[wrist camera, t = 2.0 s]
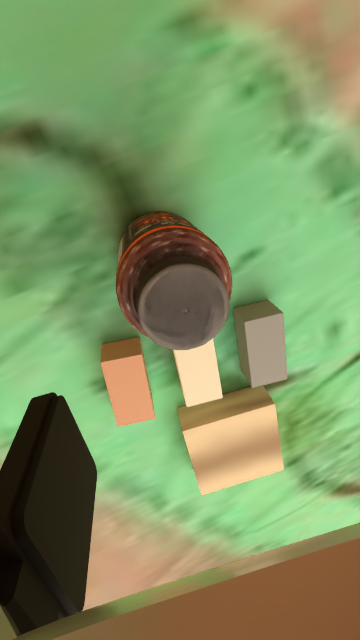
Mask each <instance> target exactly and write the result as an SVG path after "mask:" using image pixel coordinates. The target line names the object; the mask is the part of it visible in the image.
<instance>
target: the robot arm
mask: <svg viewBox="0 0 360 640" xmlns="http://www.w3.org/2000/svg"><path fill="white" fill-rule="evenodd" d="M96 481H97V470H96V465H95V462H94V460H93V458H92V456H91V454H90V452H89V449H88V447H87V445H86V443H85V441H84V439H83V437H82V434H81V432H80V430H79V428H78V426H77V424H76V422H75V419H74V417H73V415H72V413H71V411H70V409H69V406H68V404H67V402H66V400H65V398H64V397H63V396H62V395H60V396H57V395H56V394H55V393H53V392H52V393H49V394H45V395H41V396H38V397H34V398H32V399H31V401H30V403H29V405H28V408H27V410H26V412H25V415H24V417H23V419H22V422H21V424H20V426H19V429H18V431H17V433H16V436H15V438H14V440H13V443H12V445H11V447H10V450H9V452H8V454H7V457H6V459H5V461H4V463H3V465H2V468H1V470H0V640H360V523H357V524H354V525H351V526H348V527H344V528H341V529H338V530H335V531H331V532H328V533H325V534H322V535H319V536H315V537H312V538H309V539H306V540H302V541H299V542H296V543H293V544H290V545H286V546H283V547H280V548H277V549H274V550H270V551H267V552H264V553H261V554H258V555H255V556H251V557H248V558H245V559H242V560H239V561H236V562H232V563H229V564H226V565H223V566H220V567H217V568H213V569H210V570H207V571H204V572H201V573H198V574H194V575H191V576H188V577H185V578H182V579H178V580H175V581H172V582H169V583H166V584H163V585H159V586H156V587H153V588H150V589H147V590H144V591H141V592H138V593H135V594H132V595H129V596H126V597H123V598H120V599H117V600H115V601H112V602H109V603H106V604H103V605H100V606H97V607H94V608H91V609H88V610H85V611H82V610H83V607H84V602H85V592H86V582H87V572H88V562H89V552H90V542H91V532H92V522H93V511H94V501H95V491H96ZM81 611H82V612H81ZM78 612H79V613H78Z"/></svg>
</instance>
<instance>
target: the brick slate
mask: <svg viewBox="0 0 360 640" xmlns="http://www.w3.org/2000/svg"><path fill="white" fill-rule="evenodd" d="M233 313H234V321H235V328H236V336H237V344H238V351H239V359H240V367H241V371H242V372H243V374H244V375H245V377H246V379H247V380H248V382H249V384H250V385H251V387H252V388H254V387H258V386H262V385H266V384H269V383H273V382H277V381H281V380H285V379H287V366H286V349H285V333H284V317H283V312H282V311H281V310H279V309H278V308H277V307H276V306H275V305H274V304H273V303H271V302H270V301H269V300H265V301H261V302H257V303H253V304H249V305H244V306H240V307H236V308H233Z"/></svg>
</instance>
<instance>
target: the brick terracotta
mask: <svg viewBox="0 0 360 640" xmlns="http://www.w3.org/2000/svg"><path fill="white" fill-rule="evenodd" d="M100 363H101V367H102V370H103V374H104V378H105V381H106V385H107V389H108V393H109V396H110V400H111V404H112V407H113V411H114V415H115V418H116V422H117V426H123V425H128V424H132V423H137V422H142V421H146V420H151V419H155V414H154V407H153V400H152V394H151V389H150V385H149V380H148V375H147V370H146V365H145V360H144V355H143V350H142V345H141V340H140V337H137V338H132V339H127V340H122V341H116V342H111V343H106V344H102V352H101V362H100Z"/></svg>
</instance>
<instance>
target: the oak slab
mask: <svg viewBox="0 0 360 640" xmlns="http://www.w3.org/2000/svg"><path fill="white" fill-rule="evenodd" d="M222 396H223V398H221V399H217V400H213V401H209V402H205V403H201V404H198V405H194V406H190V407H187V406H182V407H179V408H177V411H178V415H179V419H180V423H181V428H182V432H183V435H184V438H185V442H186V445H187V448H188V452H189V455H190V458H191V462H192V465H193V468H194V472H195V475H196V478H197V482H198V485H199V488H200V492H201V495H204V494H208V493H211V492H214V491H217V490H221V489H224V488H227V487H230V486H234V485H237V484H240V483H243V482H246V481H250V480H253V479H256V478H259V477H263V476H266V475H269V474H272V473H276V472H279V471H282V470H284V467H283V460H282V452H281V445H280V438H279V430H278V423H277V415H276V408H275V403H274V402H273V400H272V399H271V397H270V396H269V394H268V393H267V391H266V390H265V388H264V387H263V385H262V386H258V387H254V388H252V387H251V386H250V387H247V388H244V389H240V390H237V391H233V392H230V393H227V394H223V395H222Z"/></svg>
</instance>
